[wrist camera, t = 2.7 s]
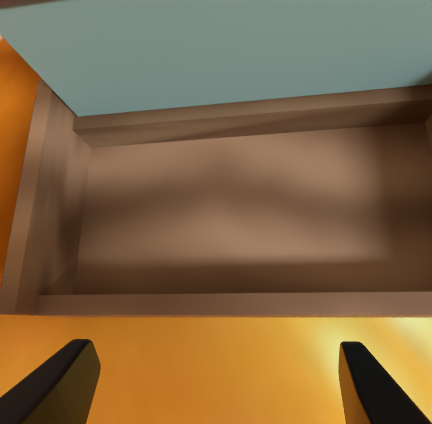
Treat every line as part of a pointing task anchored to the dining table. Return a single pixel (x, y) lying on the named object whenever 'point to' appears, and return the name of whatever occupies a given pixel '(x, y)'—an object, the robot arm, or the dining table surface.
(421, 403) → the dining table surface
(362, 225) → the open wooden crate
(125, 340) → the dining table surface
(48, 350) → the dining table surface
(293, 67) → the panel
